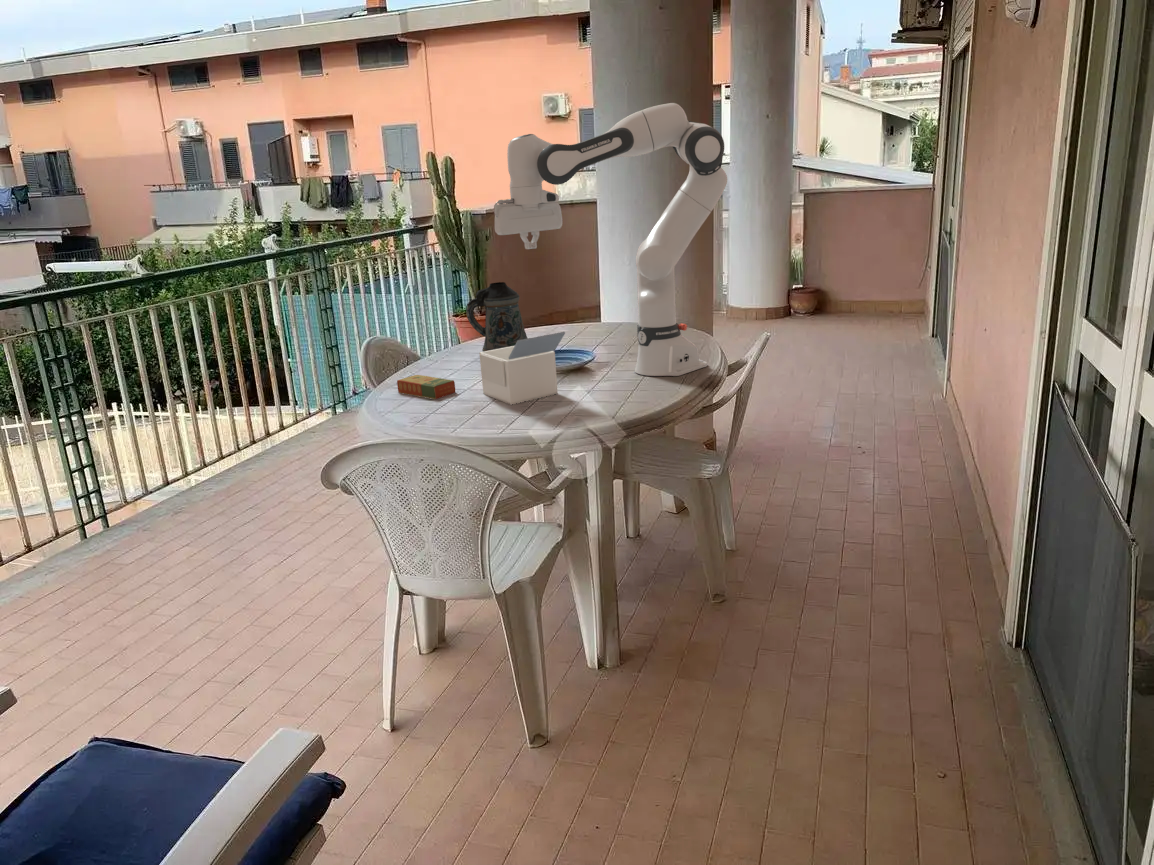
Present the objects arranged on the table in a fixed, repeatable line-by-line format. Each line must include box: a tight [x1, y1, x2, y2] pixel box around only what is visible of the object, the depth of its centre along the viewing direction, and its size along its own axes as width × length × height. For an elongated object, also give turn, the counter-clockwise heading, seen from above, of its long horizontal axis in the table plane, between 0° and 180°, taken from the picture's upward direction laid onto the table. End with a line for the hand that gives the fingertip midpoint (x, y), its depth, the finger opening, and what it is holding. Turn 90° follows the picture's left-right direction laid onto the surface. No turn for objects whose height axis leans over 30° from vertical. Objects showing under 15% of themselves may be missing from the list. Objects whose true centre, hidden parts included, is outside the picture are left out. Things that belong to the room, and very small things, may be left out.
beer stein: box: [466, 281, 528, 352], centre depth 275 cm, size 16×19×25 cm
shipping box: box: [479, 346, 559, 406], centre depth 231 cm, size 16×17×12 cm
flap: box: [509, 331, 566, 359], centre depth 219 cm, size 14×8×1 cm
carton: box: [396, 374, 456, 400], centre depth 240 cm, size 8×16×4 cm, turn 52°
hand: (530, 248), depth 231 cm, fingers closed
